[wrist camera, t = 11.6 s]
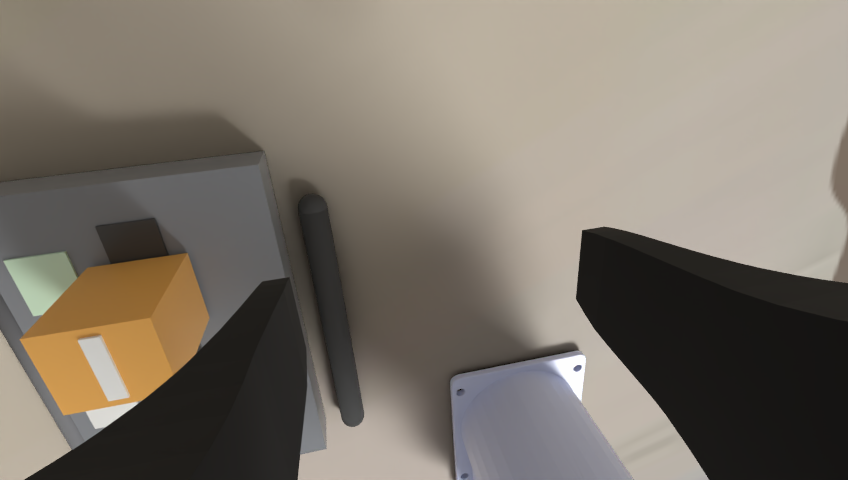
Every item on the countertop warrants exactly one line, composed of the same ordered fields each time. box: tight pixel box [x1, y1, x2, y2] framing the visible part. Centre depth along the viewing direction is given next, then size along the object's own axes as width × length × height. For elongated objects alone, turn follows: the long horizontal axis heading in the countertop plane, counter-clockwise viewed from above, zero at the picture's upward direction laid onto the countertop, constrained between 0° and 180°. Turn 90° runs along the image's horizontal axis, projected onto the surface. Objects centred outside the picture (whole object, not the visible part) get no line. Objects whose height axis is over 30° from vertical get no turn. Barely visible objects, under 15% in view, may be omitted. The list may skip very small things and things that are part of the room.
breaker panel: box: [0, 151, 326, 454], centre depth 20 cm, size 15×10×2 cm, turn 4°
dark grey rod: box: [298, 194, 364, 427], centre depth 22 cm, size 13×1×1 cm, turn 4°
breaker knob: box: [20, 253, 210, 415], centre depth 16 cm, size 3×4×4 cm
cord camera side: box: [0, 294, 85, 450], centre depth 20 cm, size 13×1×1 cm, turn 4°
